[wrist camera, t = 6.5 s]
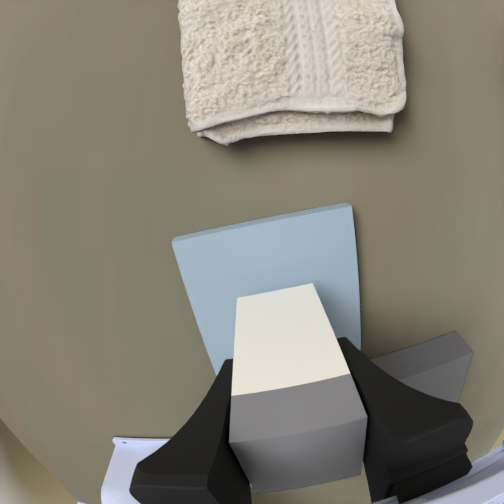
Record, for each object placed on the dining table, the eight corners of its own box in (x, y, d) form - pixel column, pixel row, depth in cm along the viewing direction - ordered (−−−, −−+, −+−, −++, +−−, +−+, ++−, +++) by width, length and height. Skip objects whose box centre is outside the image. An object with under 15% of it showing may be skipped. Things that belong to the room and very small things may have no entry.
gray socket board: (246, 463, 26) (246, 487, 23) (212, 389, 22) (209, 418, 19) (432, 418, 24) (443, 437, 22) (455, 330, 20) (473, 351, 18)
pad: (218, 368, 21) (217, 378, 20) (175, 236, 17) (171, 242, 17) (356, 342, 20) (360, 350, 19) (346, 202, 17) (351, 206, 16)
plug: (252, 355, 17) (255, 493, 9) (237, 297, 16) (228, 442, 8) (320, 342, 17) (360, 474, 9) (312, 282, 16) (367, 417, 7)
